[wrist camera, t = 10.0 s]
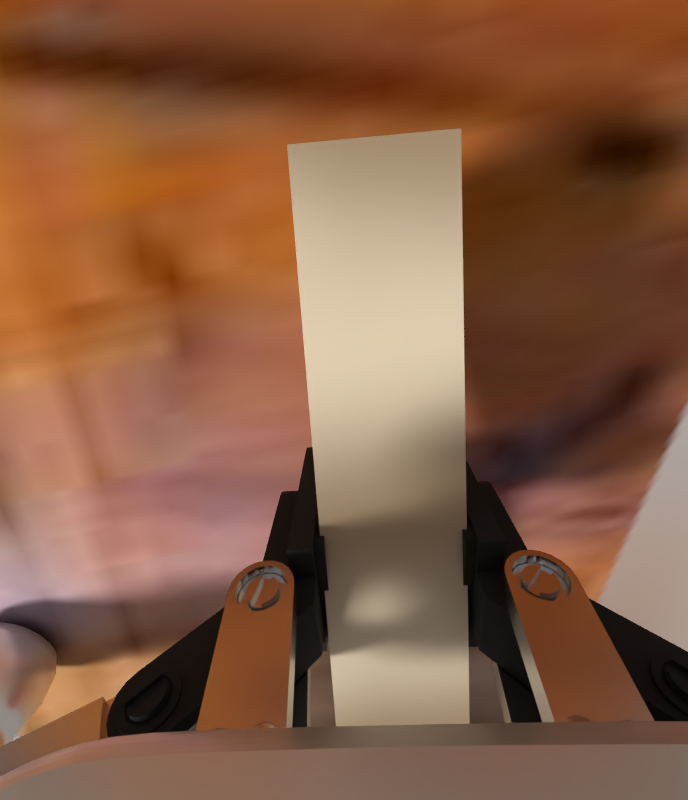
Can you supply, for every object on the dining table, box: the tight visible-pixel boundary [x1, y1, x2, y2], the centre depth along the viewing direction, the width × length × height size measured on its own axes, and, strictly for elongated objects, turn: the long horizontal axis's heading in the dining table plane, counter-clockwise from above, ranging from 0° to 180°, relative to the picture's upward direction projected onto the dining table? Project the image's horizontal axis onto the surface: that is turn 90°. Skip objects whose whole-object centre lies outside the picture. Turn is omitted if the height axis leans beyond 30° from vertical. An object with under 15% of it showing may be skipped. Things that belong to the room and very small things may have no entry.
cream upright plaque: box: [287, 128, 505, 727], centre depth 10 cm, size 14×8×5 cm, turn 5°
